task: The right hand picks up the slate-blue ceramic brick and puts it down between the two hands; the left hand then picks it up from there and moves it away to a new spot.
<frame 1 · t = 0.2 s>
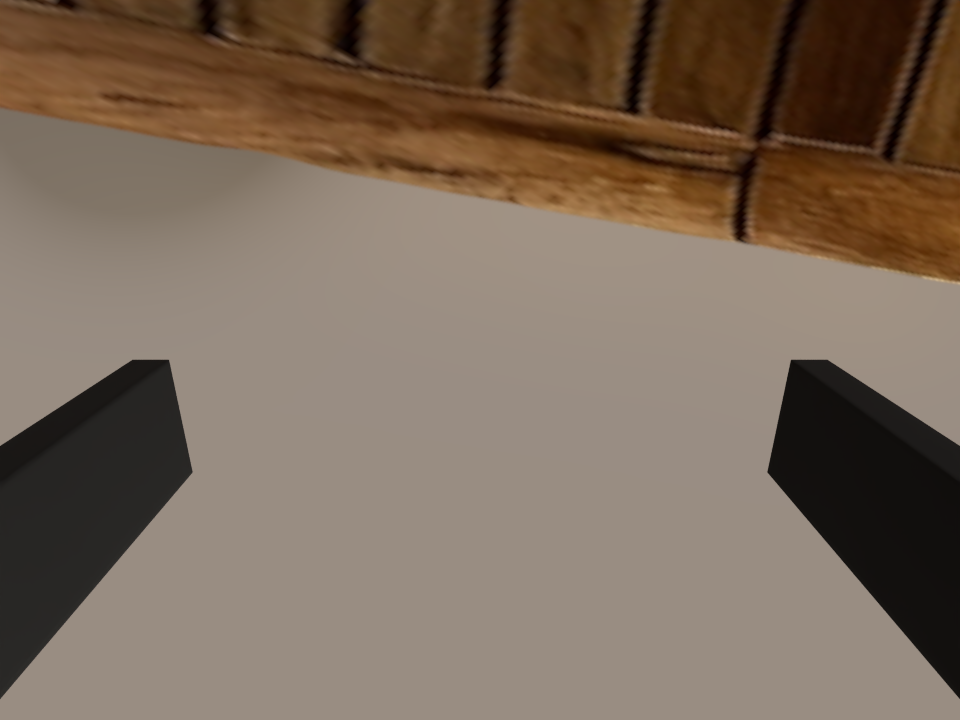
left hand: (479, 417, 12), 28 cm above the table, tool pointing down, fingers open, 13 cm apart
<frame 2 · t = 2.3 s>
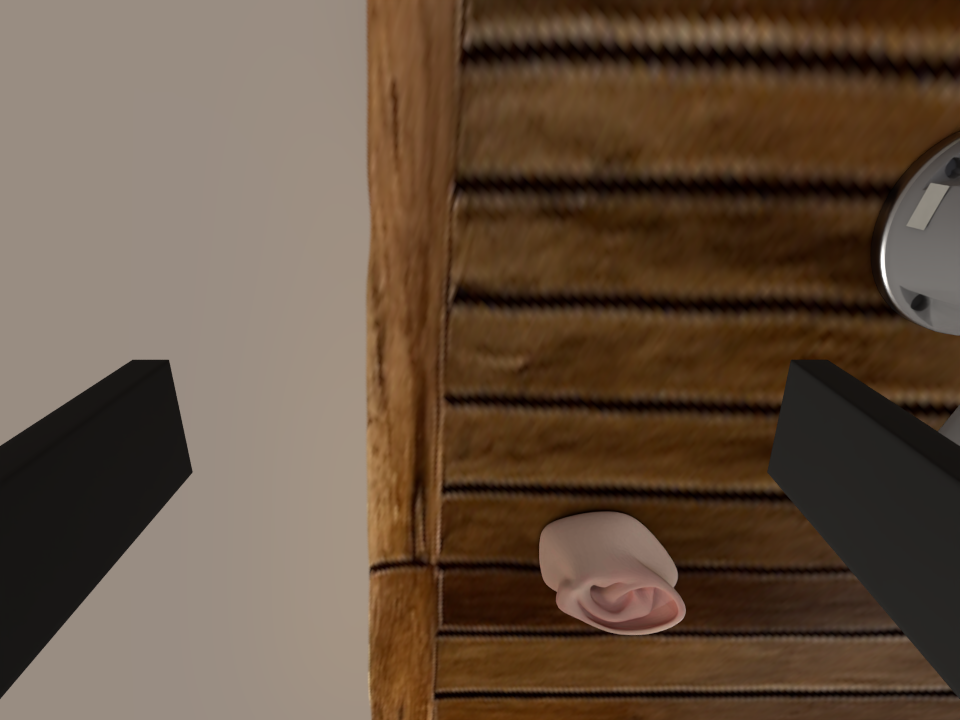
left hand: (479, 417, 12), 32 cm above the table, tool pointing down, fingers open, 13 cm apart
anatomical model: (603, 562, 54), on the table
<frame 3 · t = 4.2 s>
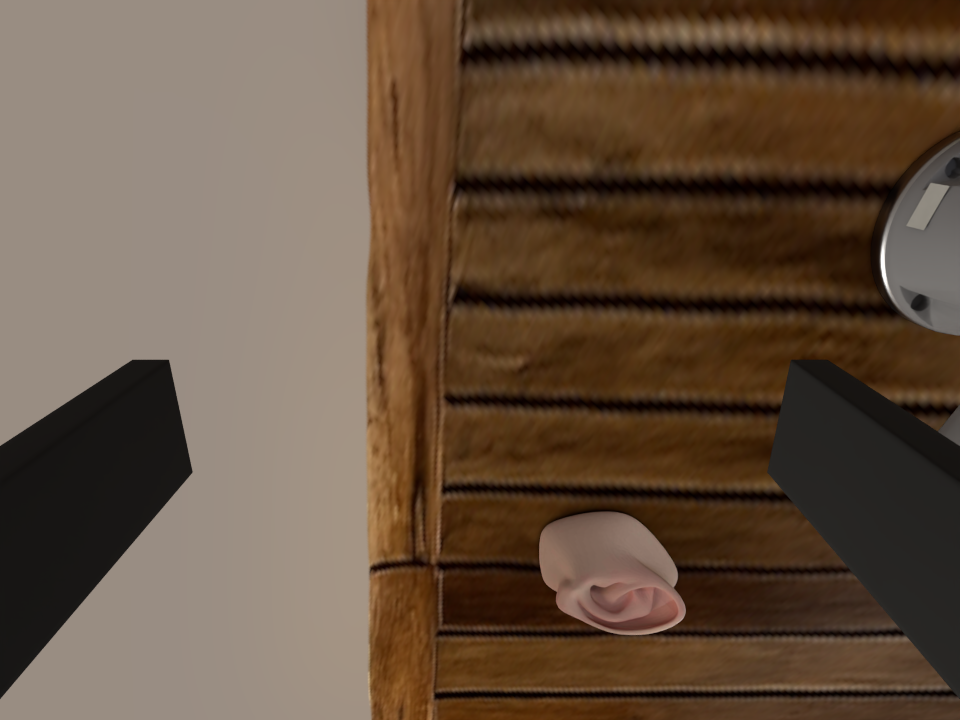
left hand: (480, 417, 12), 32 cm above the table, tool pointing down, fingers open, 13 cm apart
anatomical model: (603, 562, 54), on the table
when the right hand's fingers open (6 cm above the table, at t = 5.9 s): brick drops 2 cm, on the table.
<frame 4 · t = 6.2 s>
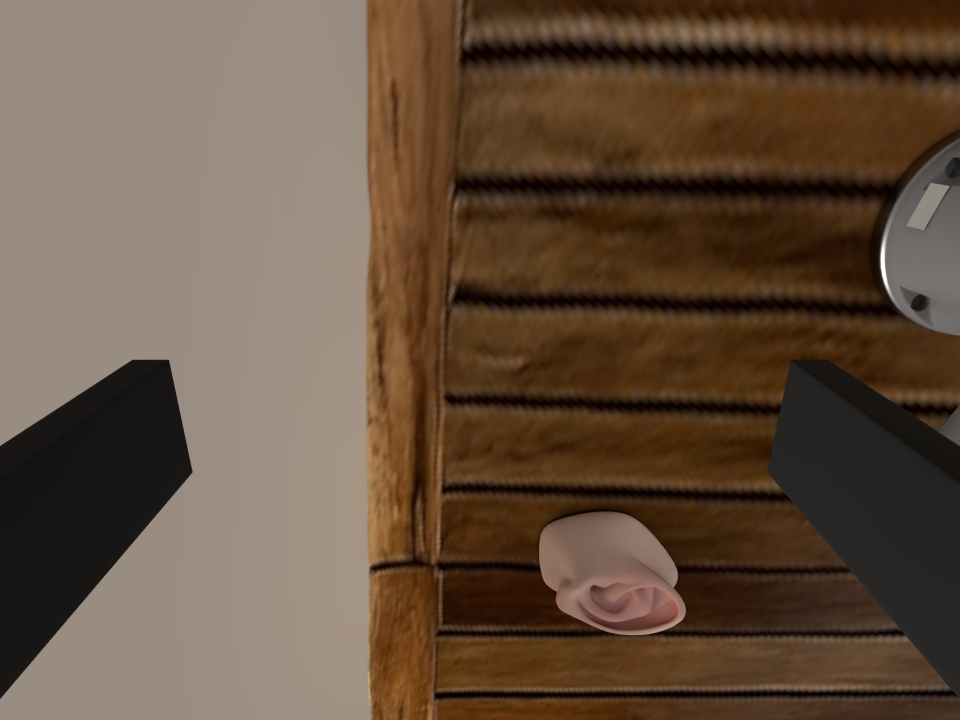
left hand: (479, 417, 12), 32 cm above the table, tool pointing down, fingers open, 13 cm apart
anatomical model: (603, 562, 54), on the table
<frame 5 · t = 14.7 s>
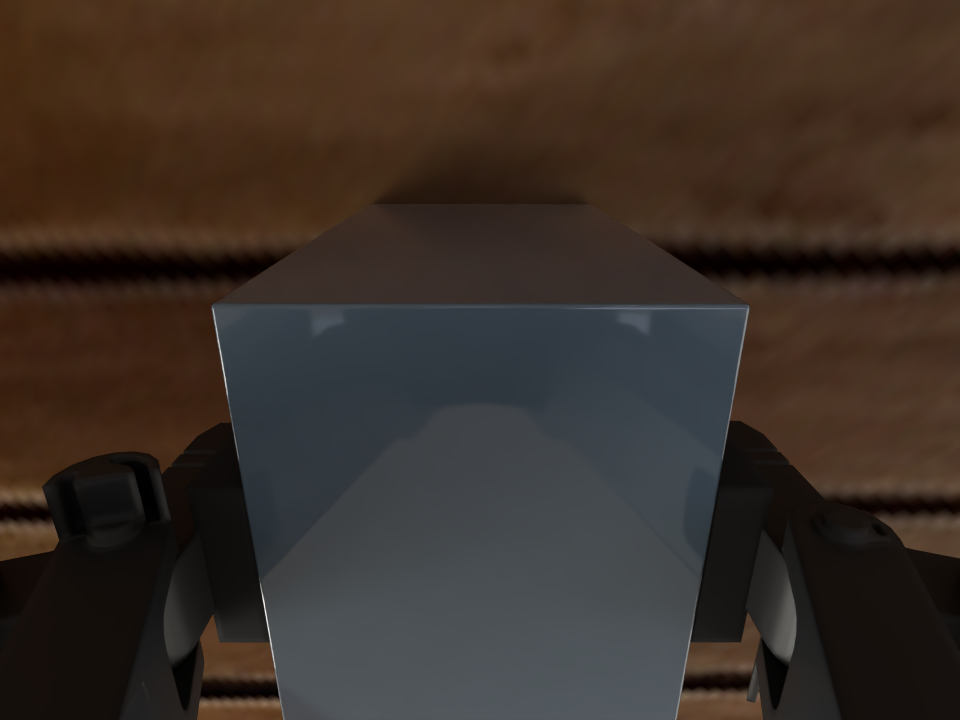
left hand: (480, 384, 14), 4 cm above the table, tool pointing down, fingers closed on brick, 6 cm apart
brick: (480, 333, 18), on the table, touching left hand
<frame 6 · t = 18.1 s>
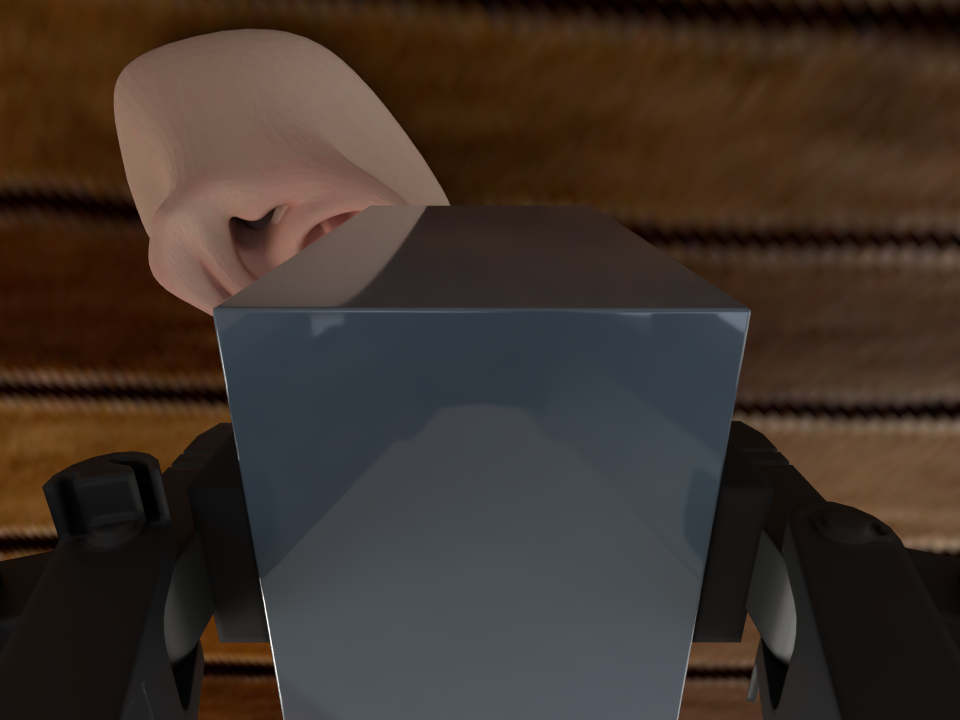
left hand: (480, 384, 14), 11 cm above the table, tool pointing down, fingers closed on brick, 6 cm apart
brick: (480, 335, 18), point 8 cm above the table, touching left hand
anatomical model: (288, 198, 23), on the table
when the left hand's fingers open (6 cm above the table, at t = 21.9 s): brick drops 2 cm, on the table.
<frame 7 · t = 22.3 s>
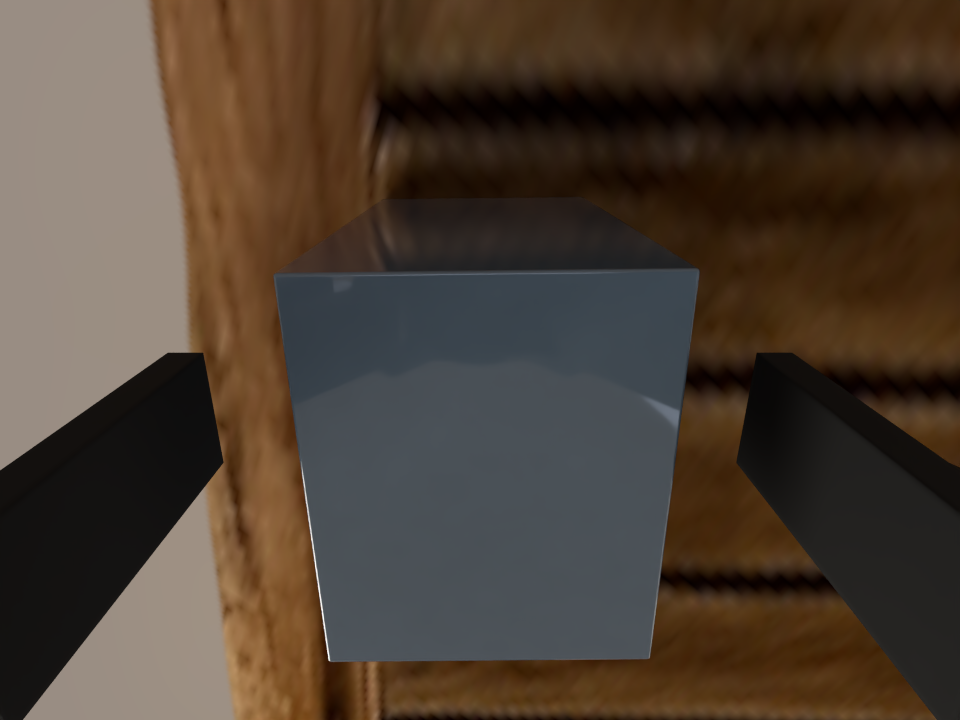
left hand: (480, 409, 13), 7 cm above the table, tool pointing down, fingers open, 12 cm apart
brick: (483, 316, 19), on the table
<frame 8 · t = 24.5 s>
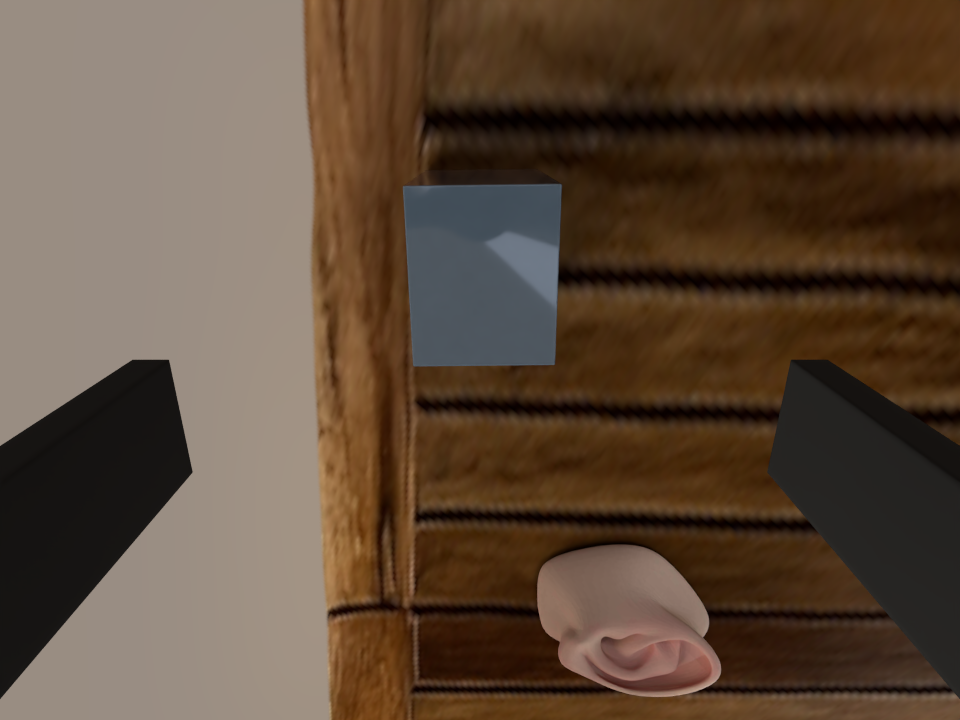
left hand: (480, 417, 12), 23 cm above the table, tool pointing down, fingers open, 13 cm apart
brick: (482, 238, 34), on the table
anatomical model: (617, 605, 44), on the table
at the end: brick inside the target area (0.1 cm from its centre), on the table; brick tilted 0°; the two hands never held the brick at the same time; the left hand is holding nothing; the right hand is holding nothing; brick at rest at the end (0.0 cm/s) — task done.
